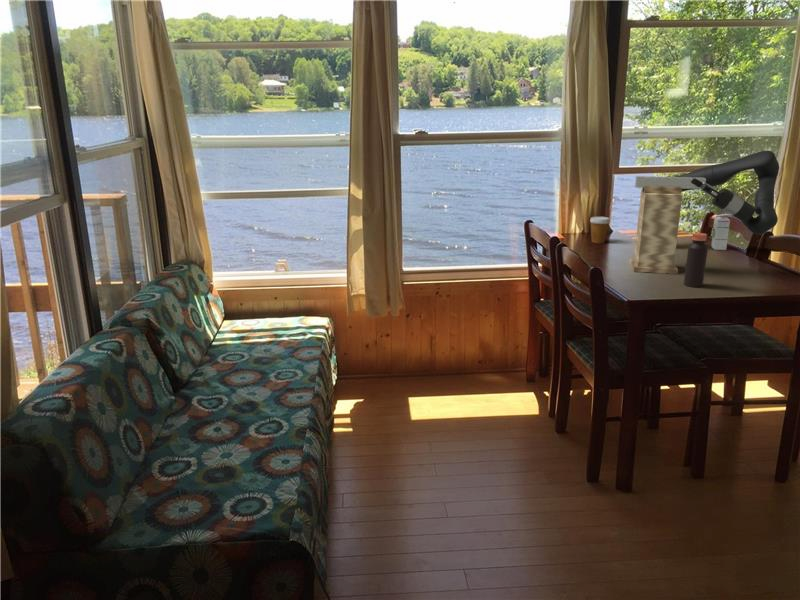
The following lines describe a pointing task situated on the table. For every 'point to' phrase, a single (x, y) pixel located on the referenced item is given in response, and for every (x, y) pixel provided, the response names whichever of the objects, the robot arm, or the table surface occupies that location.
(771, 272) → the table surface
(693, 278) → the bottle
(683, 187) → the rail
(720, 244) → the syrup box
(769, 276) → the table surface
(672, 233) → the post
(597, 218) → the disposable coffee cup
